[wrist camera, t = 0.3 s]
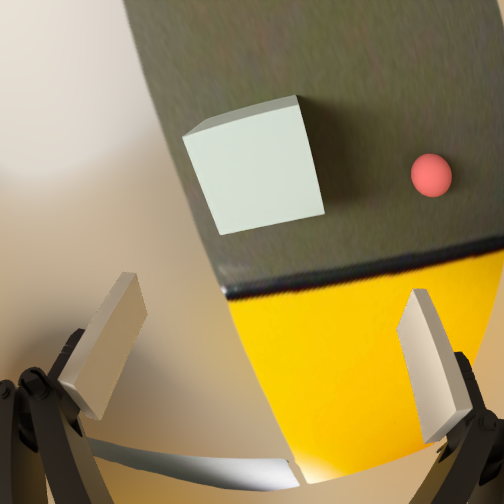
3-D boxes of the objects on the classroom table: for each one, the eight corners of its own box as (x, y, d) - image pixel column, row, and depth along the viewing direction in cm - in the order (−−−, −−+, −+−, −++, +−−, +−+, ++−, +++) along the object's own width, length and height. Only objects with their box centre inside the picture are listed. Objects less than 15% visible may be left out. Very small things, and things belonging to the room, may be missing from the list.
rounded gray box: (206, 119, 33) (182, 137, 26) (295, 94, 30) (298, 104, 23) (234, 197, 38) (220, 235, 31) (317, 179, 36) (324, 213, 28)
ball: (414, 141, 31) (431, 154, 27) (446, 157, 31) (465, 171, 27) (399, 178, 34) (413, 196, 30) (431, 192, 34) (447, 210, 30)
